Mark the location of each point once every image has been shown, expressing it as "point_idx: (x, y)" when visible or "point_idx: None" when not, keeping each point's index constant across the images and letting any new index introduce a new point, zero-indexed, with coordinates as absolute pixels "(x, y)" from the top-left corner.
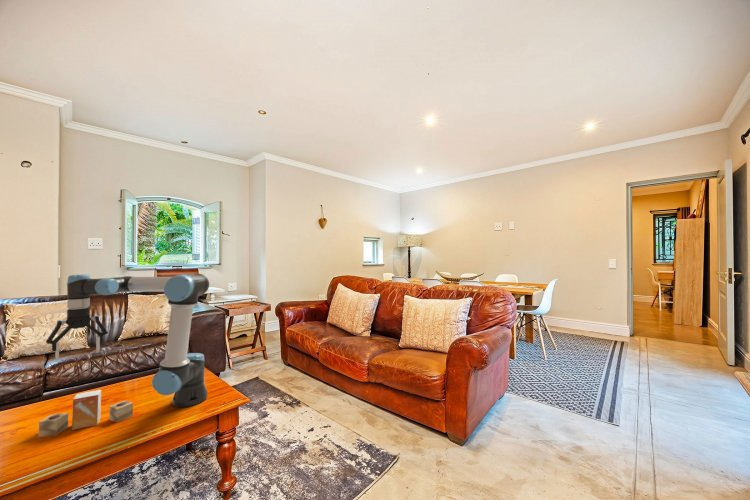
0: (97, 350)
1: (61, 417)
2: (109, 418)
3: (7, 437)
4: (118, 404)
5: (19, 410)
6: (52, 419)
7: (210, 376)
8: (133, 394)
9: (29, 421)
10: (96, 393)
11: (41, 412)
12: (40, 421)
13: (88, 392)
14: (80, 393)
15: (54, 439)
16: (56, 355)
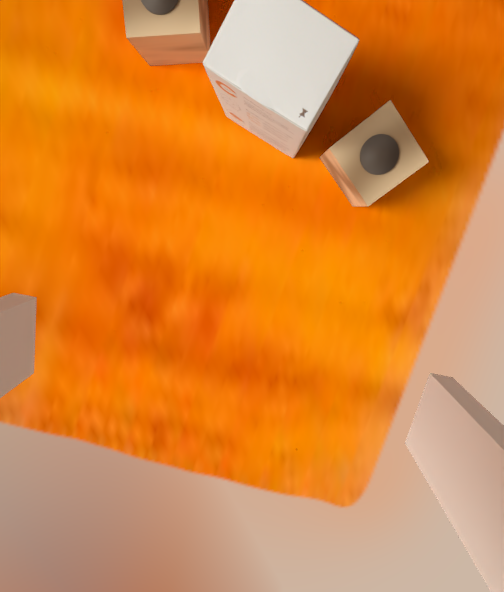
0: (33, 309)
1: (365, 119)
2: None
3: (446, 274)
4: (168, 1)
5: (334, 487)
6: (392, 134)
7: None
8: (52, 256)
9: (359, 354)
10: (247, 4)
11: (308, 402)
12: (423, 163)
13: (264, 82)
14: (294, 116)
15: (390, 78)
16: (478, 402)
